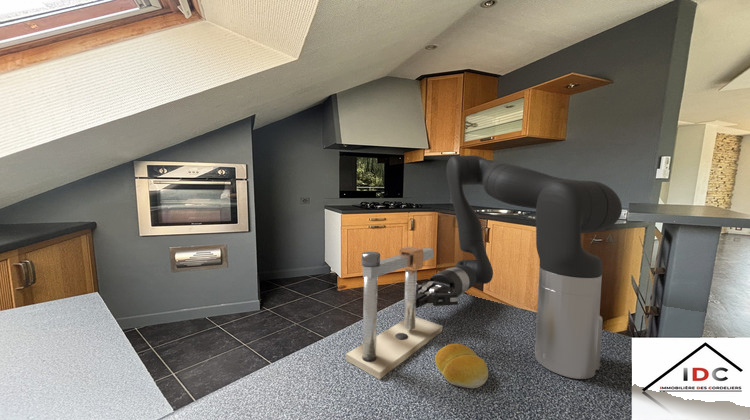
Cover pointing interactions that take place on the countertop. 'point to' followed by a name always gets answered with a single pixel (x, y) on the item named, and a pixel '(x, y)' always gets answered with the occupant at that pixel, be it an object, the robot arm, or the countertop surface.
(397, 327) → the plate
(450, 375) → the bread roll
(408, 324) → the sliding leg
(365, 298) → the metal gantry frame
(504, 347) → the countertop surface
